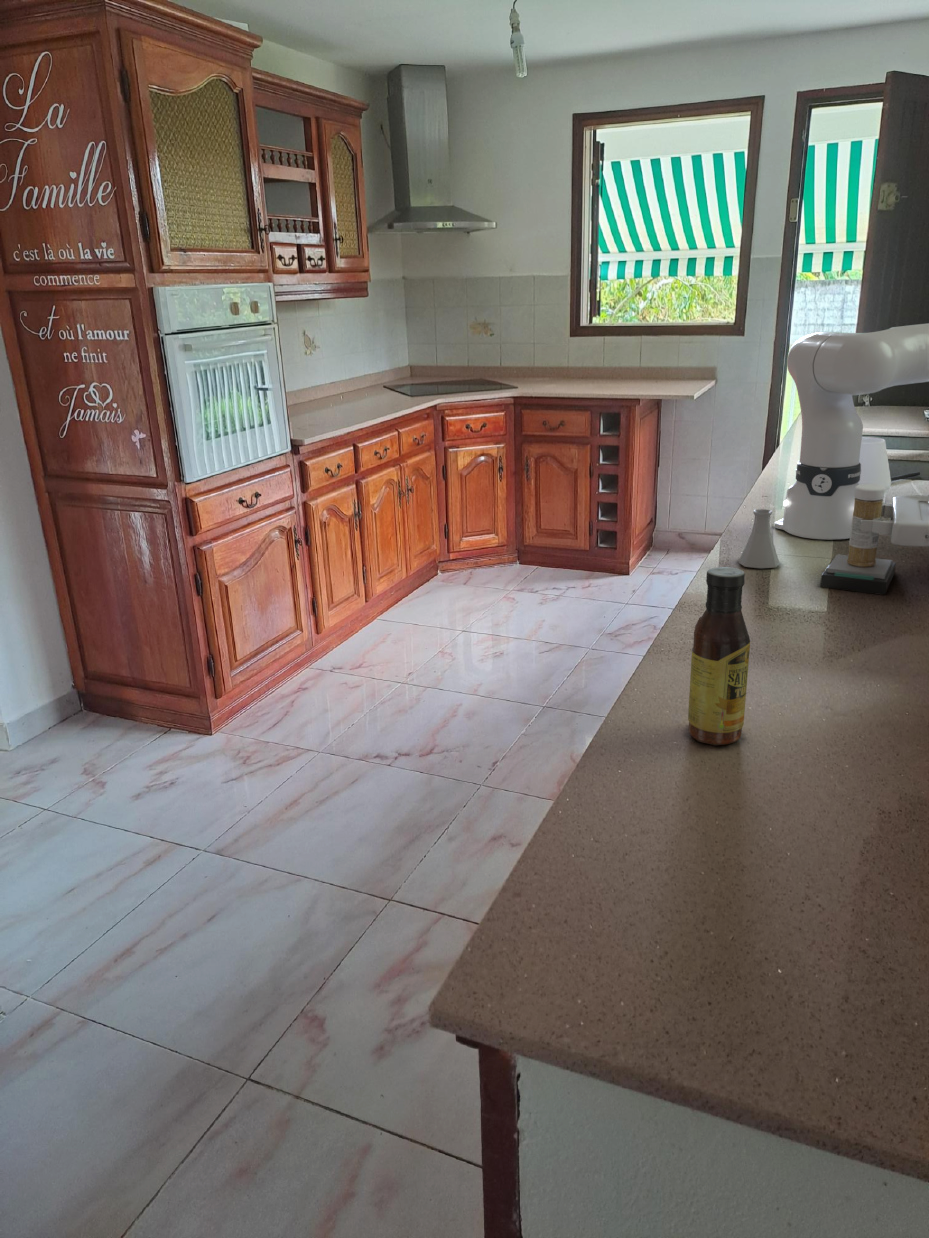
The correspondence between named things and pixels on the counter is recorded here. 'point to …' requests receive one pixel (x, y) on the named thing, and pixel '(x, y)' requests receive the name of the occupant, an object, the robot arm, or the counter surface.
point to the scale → (858, 575)
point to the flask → (760, 543)
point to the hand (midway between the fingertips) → (861, 517)
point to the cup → (874, 463)
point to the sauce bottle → (719, 662)
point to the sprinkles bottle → (864, 508)
